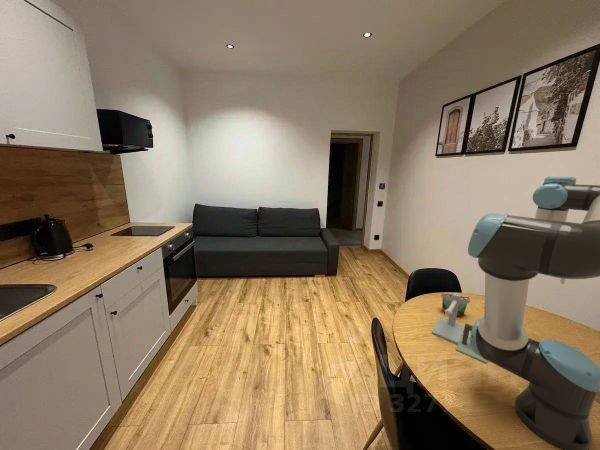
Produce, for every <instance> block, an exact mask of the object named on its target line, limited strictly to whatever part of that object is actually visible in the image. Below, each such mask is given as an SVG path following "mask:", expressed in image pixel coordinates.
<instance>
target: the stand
mask: <svg viewBox="0 0 600 450" xmlns="http://www.w3.org/2000/svg"><path fill="white" fill-rule="evenodd" d="M452 295H453V297H452V303H451V305H450V306H449V308H448V309H446V310H445V313H444V314H445V316H446V317H448V320H447V319H445V318H443V317H440V318H439V319H438V322H437V323H436V324H435V326H434V327H433V329H432V331H431V334H432V335H433V336H436V337H439V338H440V339H443V340H446V341H447V342H450V343H452V344H455V345H456V346H457V345H458V343H459V341H460V338H461V336H462V334H463V333H464V328H465V325H464V326H463V325H461V324H459V323H456V322H457V321H456V320H457V317H456V316H457V311H458V305H459V299H460V296H461V294H460V293H459V294H458V293H455V292H453V294H452Z"/></svg>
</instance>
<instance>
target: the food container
mask: <svg viewBox="0 0 600 450" xmlns="http://www.w3.org/2000/svg"><path fill="white" fill-rule="evenodd" d="M440 296H441V298H442V299H441V300H442V303H441V304H442V306H441V308H442V309H441V310H442V312H443V311H444V312H445V310H446V309H448V308H449V306H450V305H451V303H452V297H453V294H448V293H444V292H442V293H441V295H440ZM470 303H471V300H470V295H468V296H462V295H460V299H459V305H458V311H457V316H456V318H462V317H464V315H465V312H466V309H467V306H468V304H470ZM444 312H443V313H444Z"/></svg>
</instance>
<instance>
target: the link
mask: <svg viewBox="0 0 600 450" xmlns="http://www.w3.org/2000/svg"><path fill="white" fill-rule="evenodd" d="M464 327H465V328H464V332H463V339H462V344H464V345H467V341H468V337H470V332H471V330H472V327H473V325H471V324H469V323H465V324H464Z"/></svg>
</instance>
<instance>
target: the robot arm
mask: <svg viewBox="0 0 600 450" xmlns="http://www.w3.org/2000/svg"><path fill="white" fill-rule="evenodd" d="M576 182H577V178H576V177H574V176H560V175H559V176H557V175H556V176H552V175H551V176H546V177H545V178H544V181H543V183H542V185H540V186H538V187H537V188H536V189H535V190H534V192H533V194H532V201H533V203H534V204H535V205H536V206H537V209H536V213H535V217H526V216H520V215H510V214H508V213H504V214H501V213H494V212H493V213H486V214H485V215H483V216H482V217H481V218H480V219H479V220H478V222H477V223H476V225H475V227H474V229H473V232H472V234H471V236H470V239H469V242H468V247H467V254H468V255H469V256H470V257H472V258H474V259H476V258H477V262H478V263H477V264H478V267H479V269H480V270H481V271H482V272H483V273H484V307H483V308H484V310H483V311H484V315H483V316H484V317H482V318H478V319H477V320H475V322H474V323H473V325H472V326H473V327H472V330H471V331H470V336H469V337H470V345H471V348H472V350H473V352H475V353H476V354H477V355H479V356H481V357H482V358H484V359H485V360H487V362H490V363H492V364H494V365H496V366H498V367H500V368H502V369H503V370H506V371H507V372H510V373H512V374H514V375H515V376H517V377H520V378H521V379H524V381H527V382H529V383H528V386H526V388H524V389H523V390H522V391H521V392H520V393H519V394H518V395H517V396H516V399H515V402H514V410H515V412H516V414H517V417H518V418H519V419H520V420H521V422H522V423H523V424H524V425H525V426H526V427H527V428H529V430H531V431H532V432H533V433H534V434H536V435H537V436H538V437H540V438H541V439H542V440H544V441H545V442H547V443H549V444H551V445H553V446H555V447H557V448H559V449H562V450H590V448H591V445H592V442H593V435H592V430H591V425H590V420H589V417H590V414H591V411H592V408H593V405H594V403H595V400H596V396H597V393H598V392H599V391H600V367H599V366H598V365H597V364H596V362H594V360H592V359H591V358H590V357H589V356H588V355H586V354H585V353H584V352H582V351H580V350H579V349H577V348H575V347H573V346H571V345H568V344H566V343H563V342H561V341H557V340H553V339H543V340H541V341H537V340H535V339H532V338H530V337H529V335H528V332H527V330H526V329H525V327H524V325H523V324H524V319H525V314H526V313H525V312H526V307H527V298H528V291H529V286H530V285H529V284H530V280H532V279H534V278H536V277H537V276H538V275H539V274H541V275H544V276H547V277H548V276H549V277H554V278H557V279H560V281H559V282H560V284H562V285H564V284H565V283H566V280H585V279H594V278H600V184H599V185H598V184H597V185H596V184H577V183H576ZM569 210H572V211H573V210H574V211H585V212H586V214H585V216H584V218H583V220H582V222H580V223H578V222H570V221H567V219H568V218H567V217H568V214H569Z"/></svg>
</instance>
